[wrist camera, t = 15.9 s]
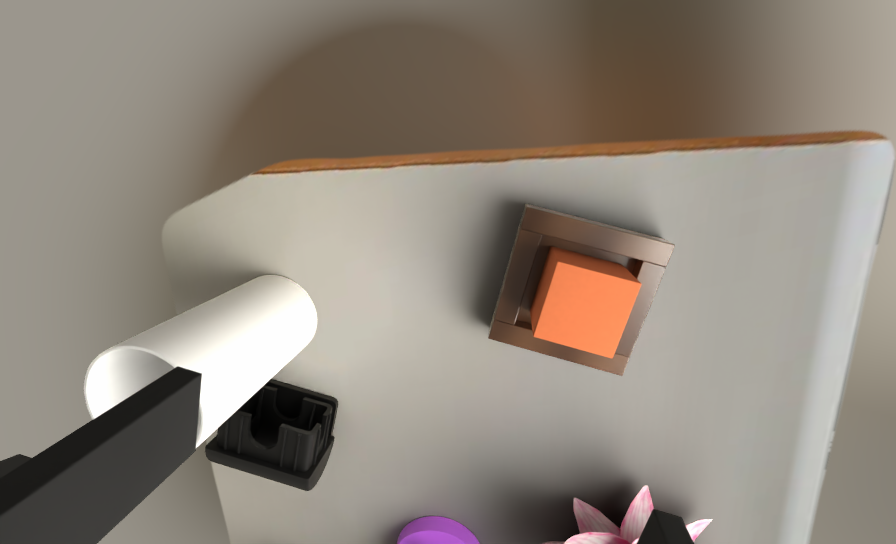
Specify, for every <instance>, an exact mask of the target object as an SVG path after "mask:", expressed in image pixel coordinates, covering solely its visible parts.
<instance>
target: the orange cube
mask: <svg viewBox="0 0 896 544" xmlns="http://www.w3.org/2000/svg"><path fill="white" fill-rule="evenodd" d="M641 285H642V284H641V283H640V282H639V281H638V280H637V279H636V278H635V277H634V276H633V275H632V274H631V273H630V272H629V271H628V270H627V269H626V268H625V267H624V266H623V265H621V264H617V263H614V262H610V261H606V260H602V259H598V258H595V257H591V256H587V255H583V254H579V253H576V252H572V251H568V250H564V249H560V248H557V247H553V246H550V249H549V252H548V255H547V259H546V262H545V265H544V268H543V271H542V274H541V278H540V281H539V284H538V287H537V290H536V293H535V296H534V300H533V303H532V306H531V309H530V316H531V323H532V331H533V337H536V338H540V339H544V340H547V341H551V342H554V343H558V344H562V345H565V346H569V347H572V348H576V349H579V350H583V351H587V352H590V353H594V354H597V355H601V356H605V357H608V358H613V356H614V354H615V351H616V349H617V346H618V343H619V341H620V338H621V336H622V333H623V331H624V328H625V326H626V323H627V320H628V318H629V315H630V313H631V310H632V308H633V305H634V303H635V300H636V297H637V295H638V292H639V290H640V287H641Z"/></svg>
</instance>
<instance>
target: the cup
mask: <svg viewBox="0 0 896 544" xmlns="http://www.w3.org/2000/svg"><path fill="white" fill-rule="evenodd" d="M316 328H317V314H316V309H315V306H314V304H313V302H312V300H311V298H310V297H309V295H308V294H307V292H306V291H305V290H304V289H303V288H302V287H301V286H300V285H298V284H297V283H296V282H294V281H292V280H290V279H288V278H286V277H283V276H279V275H264V276H260V277H257V278H255V279H253V280H251V281H249V282H246V283H244V284H242V285H240V286H238V287H236V288H234V289H232V290H230V291H228V292H225V293H223V294H221V295H219V296H217V297H215V298H213V299H211V300H209V301H207V302H204V303H202V304H200V305H198V306H196V307H194V308H192V309H190V310H188V311H186V312H183V313H181V314H179V315H177V316H175V317H173V318H171V319H169V320H167V321H165V322H163V323H160V324H159V325H156V326H154V327H152V328H150V329H148V330H146V331H144V332H141V333H140V334H137V335H135V336H133V337H131V338H129V339H127V340H125V341H123V342H121V343H119V344H116V345H114V346H112V347H110V348H108V349H107V350H106V351H104V352H102V353H100V354H99V355H98V356H97V357H96V358H95V359H94V360H93V361H92V362H91V364H90V365H89V367H88V369H87V372H86V375H85V379H84V397H85V402H86V405H87V408H88V411H89V413H90V415H91V417H92V419H95V418H96V417H98V416H100V415H101V414H103V413H104V412H106V411H108V410H109V409H111V408H112V407H114V406H115V405H117V404H119V403H120V402H122V401H123V400H125V399H127V398H128V397H130V396H131V395H133V394H134V393H136V392H138V391H139V390H141V389H142V388H144V387H146V386H147V385H149V384H150V383H152V382H153V381H155V380H157V379H158V378H160V377H161V376H163V375H165V374H166V373H168V372H169V371H171V370H172V369H174V368H176V367H177V366H179V367H182V368H185V369H189V370H192V371H195V372H199V373H202V379H201V391H200V404H199V416H198V428H197V440H196V448H197V447H198V446H199V445H200V444H201V443H202V442H203V441H204V440H205V439H207V438H208V437H209V436H210V435H211V434H212V433H213V432H214V431H215V430H216V429H217V428H218V427H220V426H221V425H222V424H223V423H224V422H225V421H226V420H227V419H228V418H229V417H230V416H231V415H233V414H234V413H235V412H236V411H237V410H238V409H239V408H240V407H241V406H242V405H243V404H244V403H245V402H247V401H248V400H249V399H250V398H251V397H252V396H253V395H254V394H255V393H256V392H257V391H258V390H259V389H261V388H262V387H263V386H264V385H265V384H266V383H267V382H268V381H269V380H270V379H271V378H272V377H273V376H275V375H276V374H277V373H278V372H279V371H280V370H281V369H282V368H283V367H284V366H285V365H286V364H287V363H289V362H290V361H291V360H292V359H293V358H294V357H295V356H296V355H297V354H298V353H299V352H300V351H302V350H303V349H304V348H305V347H306V346H307V345H308V344H309V343H310V341H311V340H312V338H313V337H314V334H315V332H316Z"/></svg>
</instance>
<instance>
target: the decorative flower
mask: <svg viewBox="0 0 896 544" xmlns="http://www.w3.org/2000/svg"><path fill="white" fill-rule="evenodd" d="M653 509H654V507H653V503H652V499H651V496H650V492H649V488H648V486H644V487H643V488H642V489H641V491H640V492H639V493H638V494H637V496H636V497H635V498H634V500H633V501H632V503H631V505H630V507H629V509H628V511H627V513H626V515H625V517H624V520H623V522H622V524H621V529H619V528H618V527H617V526H616V525H615V524H614V523H613V522H611V521H610V520H609V519H608V518H607V517H606V516H604V515H603V514H602V513H601V512H600V511H599V510H598V509H596V508H594V507H592V506H590V505H588V504H587V503H585V502H583V501H581V500H579V499H577V498H575V497H574V513H575V516H576V520H577V524H578V527H579V531H580V534H579V535H575V536H572V537H571V538H569V539H568V540H567V541H566V542H552V541H549V542H545V543H541V544H637V542H638V540H639V538H640V535H641V533H642V531H643V529H644V527H645V525H646V523H647V521H648V519H649V517H650V514H651V512H652V510H653ZM711 521H712V519H709V520H698V521H696V522H693V523H690V524H688V525H685V526H686V528H687V530H688V532H689V534H690V536H691V538H692V540H693V542H694V540H695V539H696V538H697V536H698V535H699V534H700V533H701V532H702V531H703V530H704V529H705V527H706V526H707V525H708V524H709V523H710V522H711Z"/></svg>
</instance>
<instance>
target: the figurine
mask: <svg viewBox="0 0 896 544" xmlns="http://www.w3.org/2000/svg"><path fill="white" fill-rule="evenodd" d="M397 544H479V542H478V540H477V538H476V537H475V536H474V534H473V533H472V532H471V531H470V530H469V529H468V528H466V527H465V526H464V525H462V524H460V523H459V522H457V521H454V520H452V519H449V518H445V517H440V516H428V517H422V518H419V519H416V520H414V521H412V522H410V523H409V524H408V525H406V526H405V527H404V528H403V530H402V531H401V533H400V535H399V538H398V541H397Z"/></svg>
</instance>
